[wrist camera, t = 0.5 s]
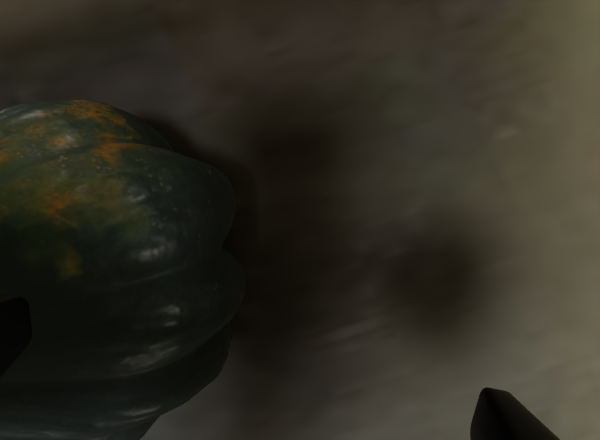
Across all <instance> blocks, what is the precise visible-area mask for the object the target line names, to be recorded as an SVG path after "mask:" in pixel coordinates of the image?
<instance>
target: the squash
mask: <svg viewBox="0 0 600 440" xmlns="http://www.w3.org/2000/svg"><path fill="white" fill-rule="evenodd" d="M234 214H235V195H234V192H233V188H232V185H231V183H230V181H229V179H228V178H227V177H226V176H225V175H224V174H223V173H222V172H220V171H219V170H218V169H217V168H215V167H212V166H210V165H208V164H206V163H203V162H201V161H198V160H195V159H193V158H190V157H188V156H185V155H182V154H180V153H176V152H174V150H173V149H172V147H171V146H170V144H169V143H168V141H167V140H166V139H165V138H164V137H163V136H162V135H161V134H160V133H159V132H158V131H157V130H156V129H154V128H153V127H152V126H150V125H148V124H147V123H145V122H144V121H142V120H140V119H139V118H137V117H136V116H134V115H132V114H130V113H128V112H125V111H123V110H120V109H117V108H115V107H112V106H109V105H107V104H104V103H99V102H93V101H87V100H52V101H38V102H29V103H24V104H20V105H15V106H11V107H7V108H5V109H3V110H0V295H4V294H8V295H14V296H19V297H23V298H25V299H26V300H27V301H28V303H29V308H30V316H31V324H32V337H31V340H30V342H29V344H28V345H27V347H26V348H25V349H24V350H23V351H22V353H21V354H20V355H19V356H18V357H17V359H16V360H15V361H14V362H13V363H12V365H11V366H10V367H9V368H8V369H7V371H6V372H5V373H4V374H3V375H2V377H1V378H0V440H139V439H140V438H142V437H143V436H144V434H145V433H146V432H147V431H148V429H149V428H150V427H151V425H152V424H153V423H154V422H155V421H156V420H157V419H158V418H159V416H160V415H162V414H164V413H166V412H168V411H170V410H172V409H174V408H176V407H178V406H180V405H182V404H184V403H185V402H187V401H188V400H190V399H191V398H192V397H193V396H194V395H196V394H197V393H198V392H199V391H200V390H202V389H203V388H204V387H205V386H207V385H208V384H209V383H210V382H212V381H213V380H214V379H215V378H216V377H217V376H218V374H219V373H220V372H221V370H222V367H223V365H224V363H225V361H226V359H227V355H228V349H229V344H230V339H231V337H232V328H231V321H230V320H231V319H232V318H233V317H234V315H235V314H236V313H237V311H238V310H239V308H240V306H241V303H242V300H243V296H244V292H245V284H246V278H245V274H244V270H243V268H242V266H241V263H240V262H239V261H238V260H237V259H236V258H235V257H234V256H233V255H232V254H231V253H230V252H229V251H228V250H226V249H225V248H224V247H223V242H224V240H225V238H226V236H227V235H228V233H229V231H230V229H231V226H232V223H233V220H234Z"/></svg>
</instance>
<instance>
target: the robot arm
mask: <svg viewBox="0 0 600 440" xmlns="http://www.w3.org/2000/svg"><path fill="white" fill-rule="evenodd" d="M31 337H32V324H31V316H30V308H29V303H28V301H27V300H26V299H25V298H23V297H19V296H14V295H8V294H4V295H0V378H1V377H2V375H3V374H4V373H5V372H6V371H7V369H8V368H9V367H10V366H11V365H12V363H13V362H14V361H15V360H16V359H17V357H18V356H19V355H20V354H21V353H22V351H23V350H24V349H25V348H26V347H27V345H28V344H29V342H30V340H31ZM470 438H471V440H560V439H559V438H558V437H557V436H556V435H554V434H553V433H552V432H551V431H550V430H549V429H548V428H547V427H546V426H545V425H544V424H543V423H542V422H540V421H539V420H538V419H537V418H536V417H535V416H534V415H533V414H532V413H531V412H530V411H529V410H528V409H526V408H525V407H524V406H523V405H522V404H521V403H520V402H519V401H518V400H517V399H516V398H515V397H513V396H512V395H511V394H510V393H509V392H507V391H503V390H498V389H492V388H484V389H482V391H481V393H480V395H479V399H478V402H477V405H476V409H475V412H474V416H473V419H472V423H471V430H470Z"/></svg>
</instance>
